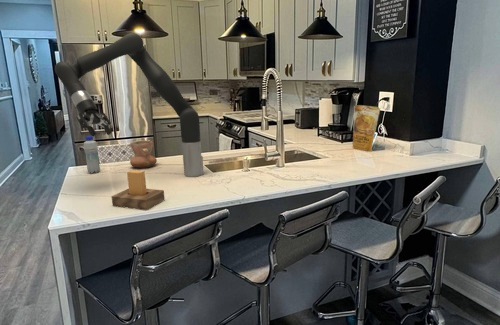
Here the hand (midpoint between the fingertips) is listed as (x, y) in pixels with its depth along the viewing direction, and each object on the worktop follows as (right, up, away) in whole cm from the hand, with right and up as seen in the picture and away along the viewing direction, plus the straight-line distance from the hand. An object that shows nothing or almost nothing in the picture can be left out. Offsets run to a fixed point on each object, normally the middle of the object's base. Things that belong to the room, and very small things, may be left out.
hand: (102, 134), depth 150 cm
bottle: (-21, -18, +38) cm, 47 cm away
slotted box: (+19, -28, -10) cm, 35 cm away
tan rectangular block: (+19, -28, -10) cm, 35 cm away
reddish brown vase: (+3, -14, +49) cm, 51 cm away
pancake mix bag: (+137, -4, +77) cm, 157 cm away
